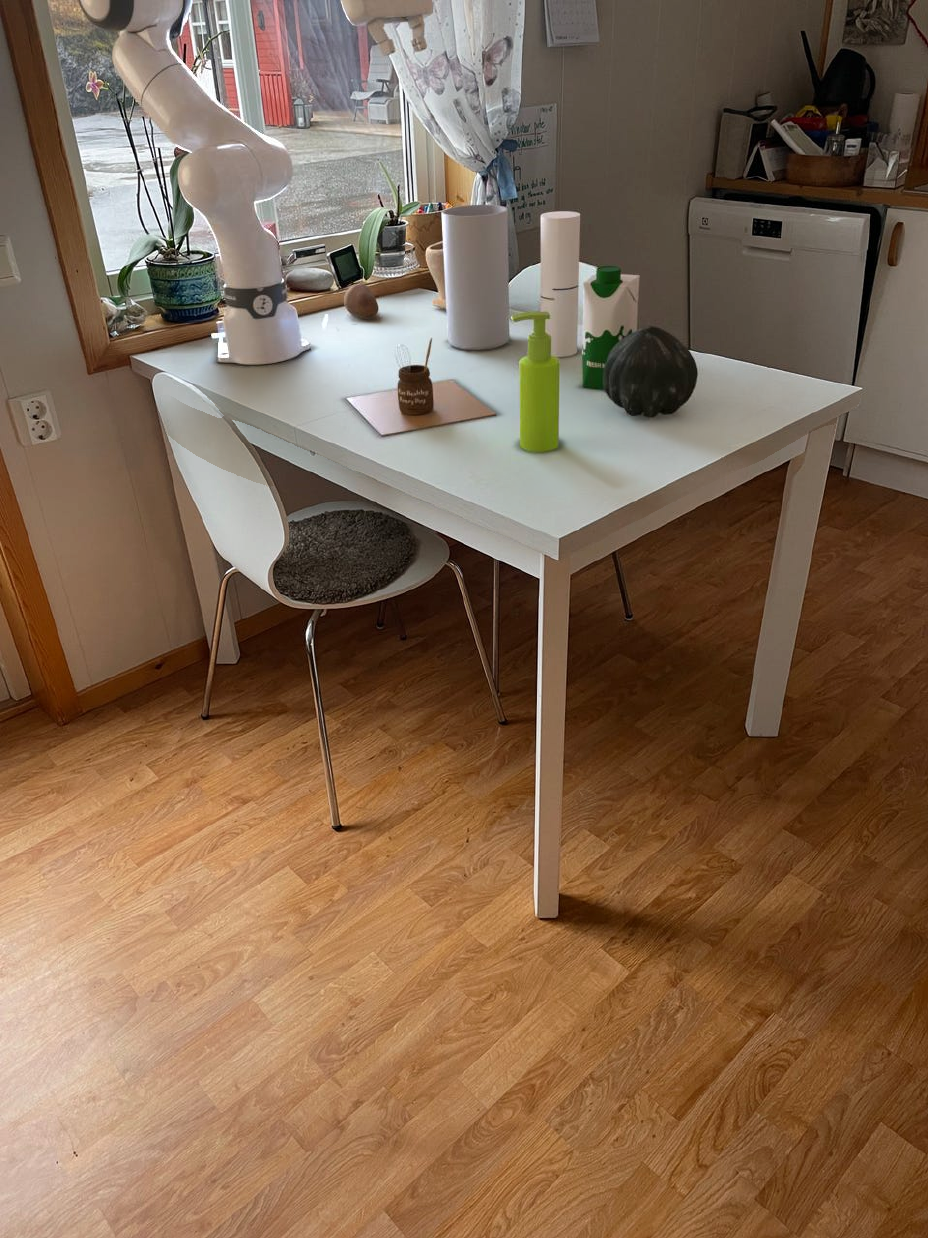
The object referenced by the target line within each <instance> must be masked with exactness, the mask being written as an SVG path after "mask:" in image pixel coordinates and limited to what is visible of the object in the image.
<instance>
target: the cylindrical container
mask: <svg viewBox="0 0 928 1238" xmlns="http://www.w3.org/2000/svg"><path fill="white" fill-rule="evenodd" d="M580 231H581V213H579V212H577V211H571V210H570V211H569V210H566V211H565V210H561V211H560V210H558V211H549V212H543V213H541V214H540V308H539V309H540V311H541V312H548V313H549V315H550V319H545V333H547V334H548V335H550V336H551V356H554V357H557V358H566V357H567V358H568V357H571V356H574V355H576V354H577V353H578V328H579V326H578V325H579V323H578V322H579V287H580V286H579V284H580V283H579V281H580V280H579V278H580V239H581V238H580V237H581V232H580Z"/></svg>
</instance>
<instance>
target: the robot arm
mask: <svg viewBox="0 0 928 1238" xmlns="http://www.w3.org/2000/svg"><path fill="white" fill-rule="evenodd" d="M77 1H78V4H79V8H80V9H81V12H82V13H83V15H84V16H85V18H86V19H87V21H89V22H90V23H91V24H92V25H94V26H96V27H98V28H99V29H102V30H106V31H110V32H113V33H114V32H115V33H119V36H118V38H117V39H116V41H115V42H114V45H113V48H112V53H111V59H112V63H113V66H114V69H115V70H116V72H117V74H118V76H119V78H120V79H121V81H122V83H123V84H124V86H125V87H126V89H127V91H129V93H130V94H131V96H132V97H133V98H134V100H135V101H136V102H137V104H138V105H139V106H140V108H142V110H143V111H144V112H145V114H146V115H147V116H148V117H149V118H150V119H151V120H152V122H153V123H154V124H155V126H157V127H158V129H159V130H160V131H161V132H162V134H163V135H164V136H165V137H166V138H167V139H168V141H169V142H170V143H171V144H173V145H174V146H175V147H178V149H181V150H183V151H187V152H189V153H188V154H186V155H185V156H183V158H181V160H180V162H179V164H178V168H177V184H178V187H179V190H180V192H181V195H182V197H183V198H184V200H185V201H186V202H187V203H188V205H190V207H192V208H193V209H195V210H196V211H198V212H199V213H200V215H201V216H202V217H203V218H204V220H205V221H206V223H207V225H208V227H209V228H210V230H211V232H212V234H213V237H214V239H215V242H216V246H217V249H218V254H219V258H220V263H221V268H222V269H221V270H222V274H223V279H224V280H223V281H224V285H223V297H224V302H225V304H226V308H225V311H224V313H223V317H222V318H221V319H222V320H221V321H216V326H217V333H211V338H212V339H218V349H217V362H219V363H234V364H239V365H249V366H250V365H252V366H253V365H254V366H255V365H266V364H268V365H269V364H275V363H279V362H280V363H281V362H284V361H288V360H290V359H293V358H295V357H297V356H299V355H300V354H301V353H303V352H305V351H307V350H310V349H311V348H312V347H311V342H310V341H307V340H306V339H303V338H302V333H301V327H300V322H299V316H298V309H297V308H296V307H295V306H293V305H292V304H291V303H290V302H289V301H288V288H287V285H286V280H285V279H284V278H283V273H282V266H281V257H280V251H279V244H278V240H277V238H276V236H275V234H274V233H273V232H271V230H269V229H266V228H265V227H264V226H263V224H262V222H261V220H260V218H259V216H258V213H257V210H256V207H255V204H257V203H261V202H264V201H265V202H266V201H268V200H271V199H273V198H274V197H276V196H278V195H279V194H281V193H282V192H283V191H285V190H286V189H287V188H288V187H289V185H290V184H291V183H292V179H293V173H294V168H293V166H294V165H293V162H292V158H291V155H290V153H289V152H288V150H287V148H286V147H285V146H284V145H283V144H282V143H281V142H280V141H278V140H276V139H274V138H271V137H269V136H267V135H264V134H262V133H260V132H259V131H258V130H255V128H253V127H251V126H250V125H249V124H247V123H245V122H244V120H241V119H240V118H239V117H237V116H236V115H234V113H232V112H231V111H230V110H228V109H227V108H226V107H225V106H224V105H222V104H221V102H219V101H218V100H217V99H216V98H215V97H214V96H213V95H212V93H210V92H209V90H208V89H207V88H206V87H205V85H204V84H202V83H201V81H200V80H199V78H197V77H196V76H195V74H194V73H193V72H192V71H191V70H190V68H189V67H188V66H187V65H186V64H185V63H184V62H183V60H182V59H181V58H180V57H179V56H178V55H177V53H176V51H174V49H173V47H172V45H171V41H175V40H177V39H178V38H180V37H181V35H182V33H183V29H184V26H185V24H186V23H187V21H188V20H189V18H190V14H191V11H192V6H193V0H77ZM340 3H341V6H342V9H343V12H344V14H345V16H346V19H347V20H348V21H349V22H350V24H351V25H352V26H354V27H360V26H367V30H368V33H369V34H370V36H371V37H372V38H373V40H374V41H375V43H376V44H377V45H378V48H379V51H380V54H381V56H383V57H385V56H386V57H387V56H391V55H392V54H394V53H395V52H396V47H395V45H394V40H393V39H392V38H389V36H388V33H387V32H386V31H385V28H384V27H385V24H399V23H407V24H408V28H409V30H411V32H412V33H411V34H412V39H411V40H410V43H411V47H412V50H413V52H415V53H421V52H423V51H424V50H426V49H427V48H428V44H427V41H426V38H425V28H426V27H425V21H424V19H426V18H428V17H429V16H431V15H433V14H434V2H433V0H340ZM328 320H329V315H328V314H327V313H325V315H324V318H323V321H322V323H321V325H322V326H321V327H322V330H325V329H326V326H327V323H328Z"/></svg>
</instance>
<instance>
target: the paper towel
mask: <svg viewBox="0 0 928 1238" xmlns="http://www.w3.org/2000/svg"><path fill="white" fill-rule="evenodd" d="M432 385H433V399H434V407H433V410H432V411H431V412H429V413H427V414H423V415H406V414H403V413H402V412H401V411H400V409H399V402H398V389H397V388H396V389H391V390H386V391H380V392H373V393H367V394H362V395H356V396H351V397H346V398H345V399H346V401H347V402H348V403H349V404H350V405H351V406H352V407H353V408H354V409H355V410H356V411H357V412H358V413H359V415H361V416H362V417H363V419H365V420H366V421H367V422H368V424H370V426H371V427H372V428H373V429H374V430H375V431H376V432H377V433H378V434H379V435H380V436H381V437H386V436H392V435H396V434H402V433H406V432H412V431H419V430H423V429H428V428H435V427H439V426H445V425H450V424H456V423H460V422H465V421H471V420H477V419H481V418H486V417H492V416H496V415H497V413H496V412H495V411H493V410H492V409H491V408H489V407H488V406H486V405H485V404H484V403H483V402H481V401H480V400H479V399H477V398H476V397H475V396H473V395H472V394H470V393H469V392H468V391H467V390H465V389H464V388H463V387H462V386H460V385H459V384H458V383H456V382H455V381H453V379H449V380H443V381H437V382H432Z"/></svg>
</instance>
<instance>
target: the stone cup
mask: <svg viewBox="0 0 928 1238" xmlns="http://www.w3.org/2000/svg"><path fill="white" fill-rule="evenodd" d="M425 261H426V265H427V268H428V270H429V272H430V274H431V277H432V279H433V280H434V283H435V285H436V289H437V292H438V293H437V297H435V298H434V299H432V300H431V304H432V305H433V306H434V307H437V308H439V309H444V310H446V291H445V271H444V252H443V240H441V241H439V242H436V243H433V244H431V245H429V246H428V247H427V248H426V250H425Z"/></svg>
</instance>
